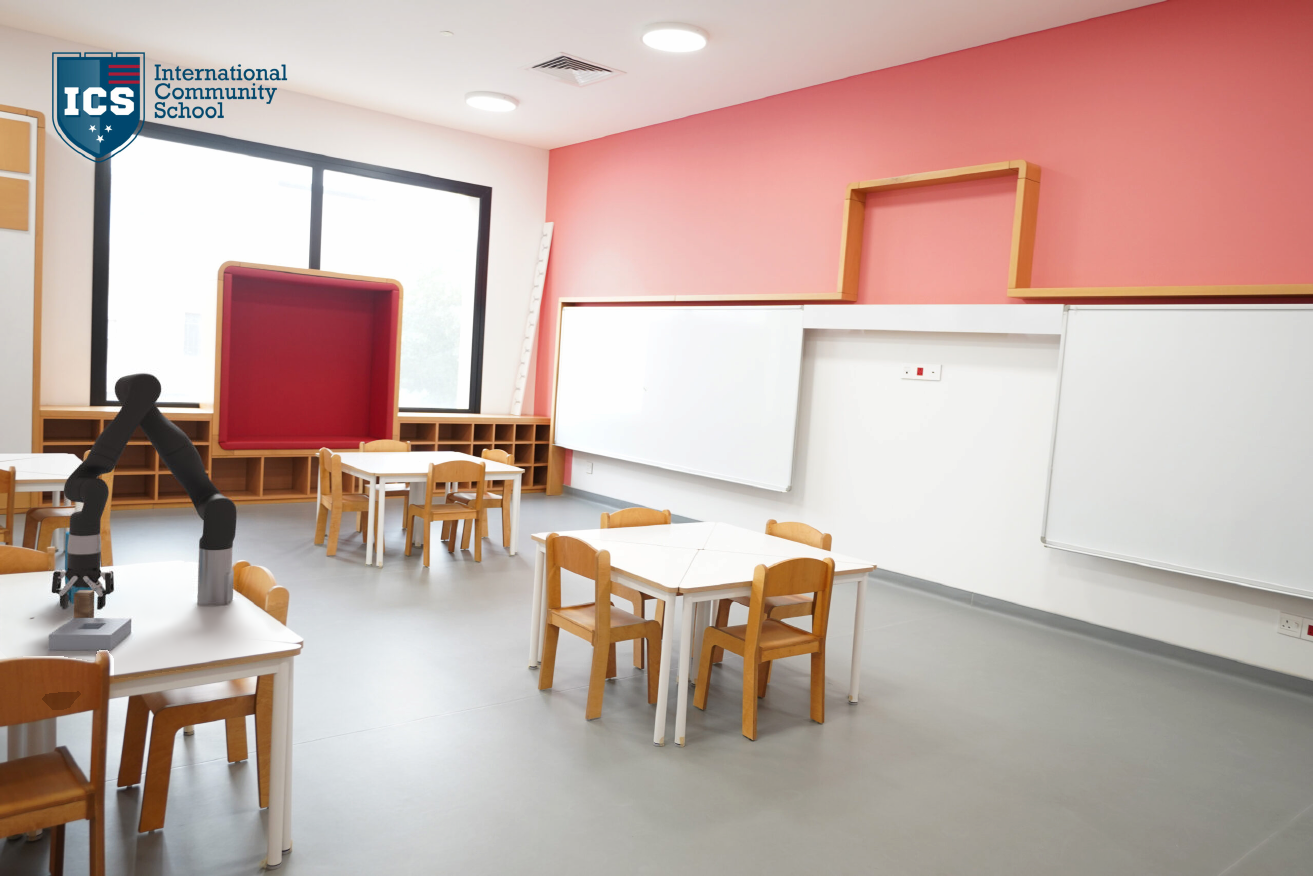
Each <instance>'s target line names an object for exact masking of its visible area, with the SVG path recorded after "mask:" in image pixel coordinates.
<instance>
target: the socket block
mask: <svg viewBox="0 0 1313 876" xmlns="http://www.w3.org/2000/svg"><path fill="white" fill-rule="evenodd" d="M131 633H132V617H130V618H129V617H127V618H126V617H122V618H121V617H98V618H97V617H94V618H74V617H72V618H71V619H70V620H68V621H66V622H65V623H64V624H62V625H61V626H60V627H58V628H56V629H55V630H54V631H52V632H50V633H49V634H48V651H102V650H101V649H106V650H105V651H112V649H114V648H115V647H116V646H117V645H119V644H120V643H121V642H122V641H123V640H124V639H126V638H127V637H128V636H129V635H130V634H131Z"/></svg>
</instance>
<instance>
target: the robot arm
mask: <svg viewBox="0 0 1313 876" xmlns="http://www.w3.org/2000/svg"><path fill="white" fill-rule="evenodd" d="M161 393H162V385H161V382H160V380H159V379H158V378H157V376H156V375H153V374H151V373H148V372H146V373H145V372H141V373H134V374H129V375H125V376H121V377H120V378H119V379H117V381H116V382H115V384H114V394H115V397H116V398H117V400H118V402H119V403H120V405H122V406H121V408H120V409H119V411H118V413H117V414H116V416H115V417H114V418H113V419H112V420H111V421H110V422H109V423H108V425H107V426H106V427H105V428H104V429H103V431H101V432H100V434H99V435H98V437H97V438H96V439H95V442H94V443H93V445H92V446H91V449H90V451H89V453H88V454H87V457H85V459H84V460H83V461H82V462H81V463H80V464H78V466H77V468H76V469H74V470H73V472H72V473H71V474H70V475H69V477H68V478H67V479H66V481H65V483H64V486H63V493H64V496H65V498H66V499H68V500H69V501H70V502H75V503H82V504H83V505H82V508H81V510H79V511H75V512H72V514H70V516H69V528H68V529H69V530H68V532H69V539H68V546H67V550H68V555H67V571H65V570H62V569H57V570H55V571H54V572H53V573H52V580H51V581H52V585H51V593H52V594H58V595H59V607H60V608H61V609H62V610H66V609H68V608H69V602H70V601H69V594H67V592H68V591H69V590H70V589H71V588H72V587H73V586H75V587H76V588H79V587H84V588H89V587H91V588H92V590H94V593H96V594H97V600H96V601H97V602H96V603H97V604H96V610H100V611H101V610H103V608H105V607H106V601H107V598H106V597H107V595H111V594H112V593H114V591H115V579H114V571H113V570H109V571H102V570H101V556H102V555H101V553H102V552H101V551H102V538H101V523H102V522H101V520H102V517H103V515H104V512H105V508H106V504H107V502H108V498H109V494H110V491H109V486H108V484H107V482H106V481H105V480H103V479H102V478H99V476H101V475H105V474H109V473H111V472H113V470H114V469H115V467H116V465H117V463H118V462H119V460H120V457H121V456H122V454H123V452H124V450H125V448H126V446H127V445H128V443H129V441H130V439H131V437H132V436H133V434H134V433H135V431H136V430H137V428H138V427H140V428H141V430H142V432H143V434H144V435H145V437H146V438H147V439H148V441H149V442H150V444H151V445H152V447H153V448H154V449H155V451H156V453H157V454H158V456H159V458H160V459H161V461H162V462H163V463H164V464H165V466H166V467H167V469H168V470H169V472H170V474H172V476H173V477H174V478H175V479H176V481H178V483H179V484H180V485H181V486H182V487H183V488H184V490H185V491H186V493H187V495H188V496H189V498H190V501H191V502H192V504H193V506H194V509H195V510H196V513H197V515H198V516H199V518H200V519H201V520H202V521H203V526H202V535H201V537H200V538H199V540H198V543H199V544H198V546H199V547H198V565H197V566H198V567H197V569H198V570H197V571H198V572H197V604H198V605H200V606H208V607H209V606H211V607H212V606H213V607H214V606H223V605H229V604H230V603H231V601H233V599H234V580H235V579H234V574H235V573H234V572H235V570H234V569H233V551H234V550H233V547H234V540H235V538H236V533H237V532H236V531H237V518H238V517H237V514H238V512H237V507H236V504H235V502H233V501H232V499H230V498H229V497H227V496H225V495H223V494H222V493H221V491H220V490H218V488H217V486H215V485H214V483H213V481H211V479H210V478H209V476H208V474H207V471H206V469H205V465H204V463H203V459H202V457H201V455H200V453H199V451H198V450H197V448H196V447H195V445H194V444H193V442H192V440H191V439H190V438H189V436H188V435H187V434H186V433H185V432H184V431H183V429H181V428H180V427H178V426H177V425H176V424H175V423H173V422H172V421H171V420H170V419H169V418H167V417H166V416H165V415H164V414H163V413H162V412H161V411H160V409H159V407H158V406H157V405H156V403H157V401H158V399H159V398H160V397H161ZM65 576H66V577H67V579H68V580H69V582H68V583H67V584H66V585H64V586H63V588H62V580H63V578H65ZM101 577H102V579H103V581H105V583H104V587H105V588H104V587H103V583H102V582H101V581H100V580H99V579H100V578H101Z"/></svg>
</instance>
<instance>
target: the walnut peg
mask: <svg viewBox="0 0 1313 876" xmlns="http://www.w3.org/2000/svg"><path fill="white" fill-rule="evenodd" d="M73 618H95V591H94V590H79V591H78V592H76V593H74V604H73Z"/></svg>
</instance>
